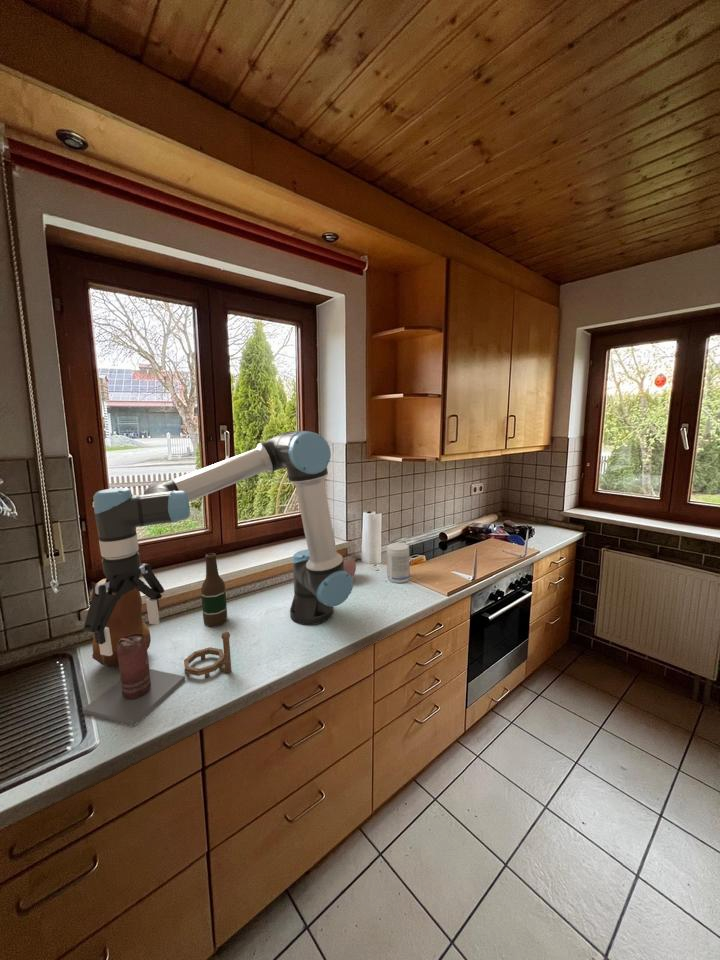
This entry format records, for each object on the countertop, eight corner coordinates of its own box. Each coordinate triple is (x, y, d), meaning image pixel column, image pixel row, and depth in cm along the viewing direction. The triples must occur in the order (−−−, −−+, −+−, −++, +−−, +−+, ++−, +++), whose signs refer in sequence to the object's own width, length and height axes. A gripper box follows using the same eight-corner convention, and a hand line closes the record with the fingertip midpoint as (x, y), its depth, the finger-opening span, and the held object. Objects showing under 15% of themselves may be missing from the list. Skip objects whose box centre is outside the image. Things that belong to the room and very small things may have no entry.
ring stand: (242, 661, 107) (239, 623, 106) (220, 684, 98) (217, 642, 96) (202, 654, 111) (198, 617, 109) (176, 675, 102) (173, 635, 100)
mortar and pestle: (343, 572, 170) (343, 548, 168) (362, 580, 161) (361, 554, 160) (322, 580, 162) (321, 554, 160) (340, 589, 153) (339, 562, 152)
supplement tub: (414, 579, 162) (414, 545, 160) (400, 585, 155) (399, 551, 153) (396, 573, 169) (396, 541, 166) (382, 579, 162) (382, 546, 160)
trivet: (185, 680, 100) (184, 676, 100) (133, 726, 85) (133, 721, 84) (139, 671, 104) (139, 666, 104) (82, 713, 89) (82, 709, 89)
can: (129, 684, 97) (123, 633, 95) (155, 682, 97) (149, 631, 95) (116, 701, 91) (109, 647, 89) (144, 699, 91) (137, 645, 89)
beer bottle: (219, 628, 125) (214, 558, 121) (198, 626, 126) (192, 557, 123) (232, 616, 132) (227, 550, 129) (212, 615, 134) (207, 549, 131)
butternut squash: (141, 643, 117) (132, 566, 114) (160, 659, 109) (151, 576, 105) (88, 665, 107) (76, 581, 103) (104, 685, 98) (93, 594, 95)
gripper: (150, 537, 102) (159, 611, 105) (53, 574, 78) (69, 667, 81) (173, 538, 100) (182, 614, 103) (80, 577, 76) (95, 673, 79)
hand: (132, 637), depth 92 cm, fingers open, 13 cm apart
